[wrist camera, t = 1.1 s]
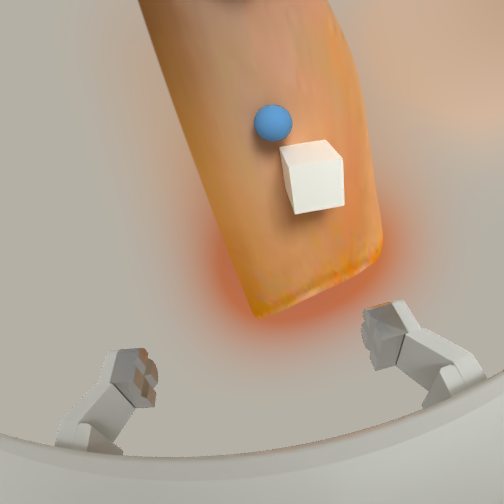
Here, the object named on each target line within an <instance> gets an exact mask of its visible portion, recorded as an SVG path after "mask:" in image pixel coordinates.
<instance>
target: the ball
mask: <svg viewBox="0 0 504 504" xmlns="http://www.w3.org/2000/svg"><path fill="white" fill-rule="evenodd" d="M254 127H255V130H256V132H257V133H258V135H259V136H260V137H262V138H263V139H265V140H268V141H279V140H282V139H284V138H285V137H286V136H287V135H288V134H289V133H290V131H291V128H292V118H291V116H290V114H289V112H288V111H287V110H286V109H285V108H283V107H281V106H279V105H267V106H265V107H263V108H261V109H260V110H259V111H258V112H257V114H256V116H255V118H254Z"/></svg>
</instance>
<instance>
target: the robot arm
mask: <svg viewBox="0 0 504 504" xmlns="http://www.w3.org/2000/svg"><path fill="white" fill-rule="evenodd" d="M363 318H364V320H365V321H364V322H363V324H362V329H361V332H362V339H363V342H364V345H365V347H366V348H367V349H368V350H370V351H371V352H370V359H371V362H372V364H373V366H374V369H375V371H377V370H381V369H384V368H388V367H391V366H395V365H396V367H398V368H399V369H400V370H402V371H403V372H404V373H405V374H407V375H408V376H409V377H411V378H412V379H413V380H415V381H416V382H417V383H418V384H420V385H421V386H422V387H424V388H425V389H426V390H428V391H429V392H428V394H427V396H426V398H425V400H424V401H423V403H422V407H423V409H422V410H419V411H417V412H414V413H411V414H409V415H406V416H403V417H401V418H398V419H395V420H392V421H389V422H386V423H383V424H380V425H376V426H373V427H370V428H367V429H363V430H360V431H356V432H353V433H349V434H345V435H341V436H337V437H333V438H330V439H325V440H320V441H316V442H312V443H306V444H301V445H296V446H290V447H285V448H278V449H272V450H265V451H259V452H249V453H240V454H231V455H217V456H200V457H142V456H124V455H123V451H122V449H120V448H119V447H118V446H117V445H115V444H113V442H114V440H115V439H116V438H117V436H118V435H119V433H120V432H121V430H122V429H123V427H124V425H125V424H126V423H127V421H128V420H129V418H130V417H131V415H132V414H133V412H134V411H135V408H148V407H155V399H156V392H155V390H154V389H153V388H154V387H155V386H156V384H157V383H158V371H157V368H156V365H155V364H154V362H153V361H152V360H151V359H149V358H148V353H147V351H146V350H145V349H144V348H135V349H120V350H109V351H108V352H107V354H106V357H105V360H104V364H103V367H102V370H101V374H100V378H99V381H98V384H94V385H93V386H92V387H91V389H90V390H89V391H88V392H87V393H86V394H85V395H84V396H83V397H82V398H81V399H80V400H79V401H78V402H77V404H76V405H75V406H74V407H73V408H72V409H71V410H70V411H69V412H68V413H67V414H66V415H65V417H63V419H62V420H61V422H60V426H59V430H58V434H57V438H56V442H55V446H50V445H45V444H40V443H35V442H31V441H27V440H23V439H19V438H15V437H12V436H8V435H5V434H1V433H0V504H504V370H503V371H501V372H499V373H497V374H496V375H494V376H492V377H490V378H488V379H487V377H486V375H485V374H484V372H483V370H482V369H481V367H480V365H479V364H478V362H477V360H476V359H475V357H474V355H473V354H472V353H470V352H469V351H467V350H465V349H463V348H461V347H459V346H457V345H456V344H454V343H452V342H450V341H448V340H446V339H445V338H443V337H441V336H439V335H437V334H435V333H433V332H431V331H429V330H428V329H426V328H423V329H421V327H420V326H419V324H418V322H417V321H416V319H415V318H414V316H413V314H412V313H411V311H410V309H409V308H408V306H407V305H406V303H405V302H404V300H402V299H399V300H395V301H391V302H387V303H384V304H380V305H376V306H373V307H369V308H366V309H364V311H363Z"/></svg>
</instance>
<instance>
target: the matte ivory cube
mask: <svg viewBox="0 0 504 504" xmlns="http://www.w3.org/2000/svg"><path fill="white" fill-rule="evenodd" d="M279 150H280V156H281V163H282V169H283V176H284V182H285V189H286V192H287V194H288V197H289V200H290V202H291V205H292V208H293V211H294V213H295V214H300V213H306V212H311V211H317V210H322V209H328V208H333V207H339V206H344V176H343V159H342V157H341V156H340V155H339V154H338V153H337V152H336V151H335V150H334V148H333V147H332V146H331V145H330V144H329V143H328V142H327V141H326V140H320V141H313V142H306V143H300V144H294V145H288V146H282V147H279Z"/></svg>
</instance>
